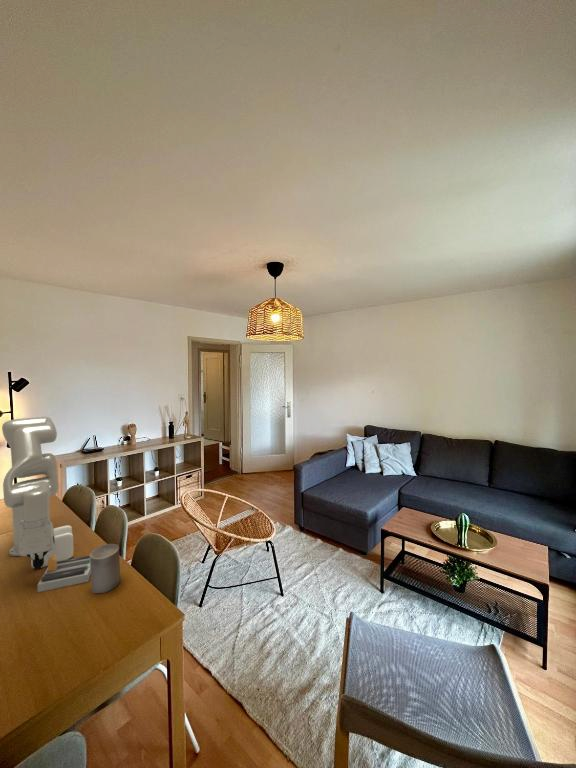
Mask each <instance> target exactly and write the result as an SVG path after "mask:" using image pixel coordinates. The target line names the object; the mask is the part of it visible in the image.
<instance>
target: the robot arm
mask: <svg viewBox="0 0 576 768" xmlns="http://www.w3.org/2000/svg"><path fill="white" fill-rule="evenodd" d="M1 431H2V435H3V437H4V439H5V441H6V443H7V444H8V446H9V448H10V454H11V455H10V456H11V468H10V469H9V470H8V471H7V472H6V474H5V475H4V479H3V483H2V488H3V489H2V490H3V491H2V492H3V501H4V505H5V506H6V507H7V508H9V509H11V511H12V528H13V529H12V534H13V546H12V547H11V548H10V549H9V555H10V556H11V557H28V558H29V559H30V561H31V560H33V567H34V568H33V567H32V568H33V570H34V571H38V570H40V569H41V567H42V565H43V564H44V556H45V555H46V554H47V553H48V552H51V551H53V550H54V549H55V545H54V543H55V535H54V528H55V527H54V525H53V522H52V520H51V519H50V497H53V496H56V494H57V493H58V492H59V487H60V486H59V475H58V464H57V458H56V456H55V455H54V454H53V453H50V452H49V453H43V450H42V444H48V443H54V442H55V441H56V439H57V436H58V434H57V433H58V432H57V429H56V426H55V423H54V422H53V420H52V418H50V417H49V416H39V417H37V416H36V417H26V418H25V417H24V418H16V419H14V418H13V419H11V420H6V421H5V422H4V423H2V426H1ZM40 475H44V476H43V477H37V476H40ZM35 476H36V477H37V478H32V479H27V480H22V481H19V482H16V483H14V484H13V481H14V479H15V478H17V479H25V478H30V477H35ZM38 553H39V555H38ZM42 568H43V567H42Z"/></svg>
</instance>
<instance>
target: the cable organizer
mask: <svg viewBox="0 0 576 768" xmlns="http://www.w3.org/2000/svg"><path fill="white" fill-rule="evenodd" d="M53 528H54V535H55V543H54V545H55V549H54V550H53V551H51V552H48V553H47V554H46V555H45V556H44V564H43V565H42V567H41V568H45V567H48V560H49V558H50V557H51V556H56V555H57V561H62V560H68V559H72V557H73V556H74V534H73V528H72V526H71V525H66V524H65V525H63V526H58V527H53ZM38 555H39V553H38ZM30 561H31V562H30V564H31V565H30V566H31V568H33V569H34V567H33V560H31V559H30ZM41 568H40V569H41Z"/></svg>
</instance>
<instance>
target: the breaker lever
mask: <svg viewBox="0 0 576 768" xmlns="http://www.w3.org/2000/svg"><path fill="white" fill-rule="evenodd" d="M47 568H48V571H47V572H51V571H56V570H58V566H57V555H56V556H51V557H50V558H49V560H48V566H47Z"/></svg>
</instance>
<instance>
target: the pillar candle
mask: <svg viewBox="0 0 576 768" xmlns="http://www.w3.org/2000/svg"><path fill="white" fill-rule="evenodd" d="M89 555H90V567H91V575H90V587H91V592H92V593H93V594H104V593H107V592H111V591H112V590H114V589H115V588H116V587H117V586H119V584H120V582H121V562H120V547H119V544H116V543H106V544H102V545H99V546H97V547H95V548H94V549H93V550H92V551H91V552H90V554H89Z"/></svg>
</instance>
